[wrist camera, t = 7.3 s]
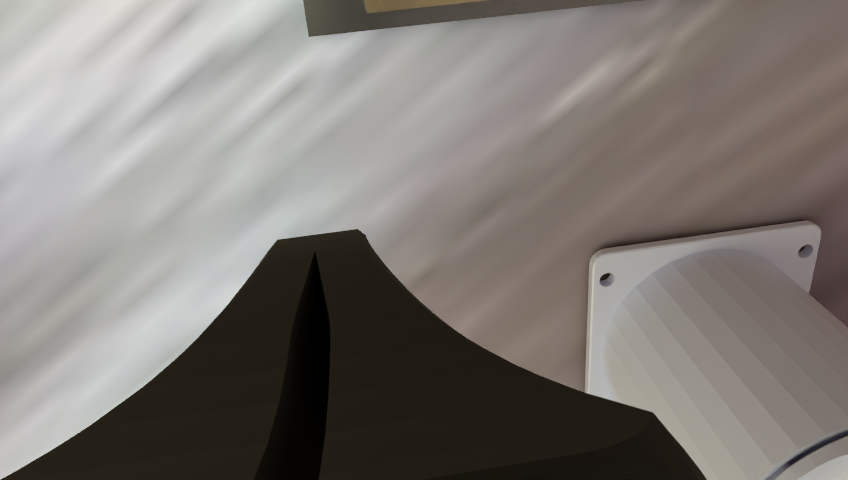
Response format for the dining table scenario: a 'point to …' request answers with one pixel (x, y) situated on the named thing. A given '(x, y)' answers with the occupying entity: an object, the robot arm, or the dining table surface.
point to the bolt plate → (419, 12)
